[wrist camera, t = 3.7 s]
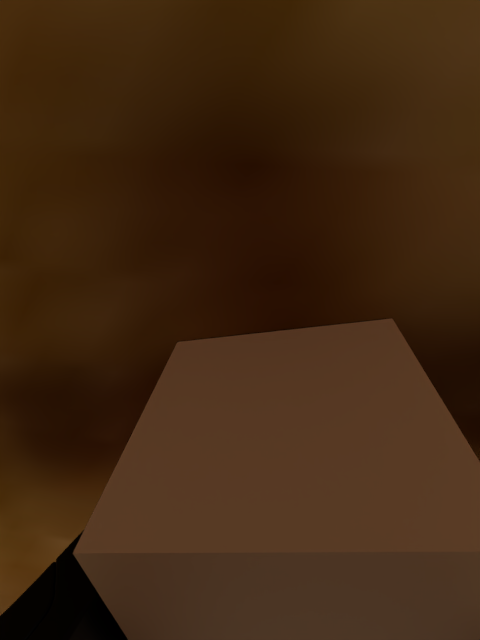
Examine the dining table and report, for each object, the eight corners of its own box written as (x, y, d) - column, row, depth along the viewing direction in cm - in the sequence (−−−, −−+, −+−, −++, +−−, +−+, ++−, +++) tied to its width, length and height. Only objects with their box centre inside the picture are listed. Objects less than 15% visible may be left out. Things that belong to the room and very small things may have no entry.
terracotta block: (392, 318, 8) (533, 551, 3) (391, 475, 10) (477, 740, 6) (177, 342, 9) (72, 553, 4) (219, 481, 11) (177, 716, 7)
